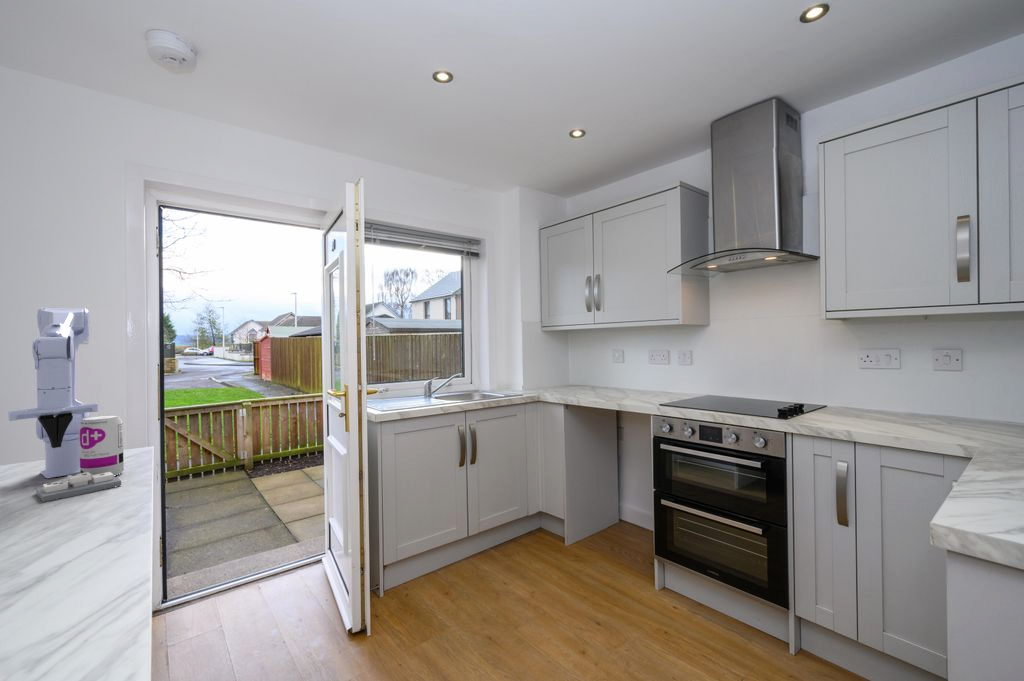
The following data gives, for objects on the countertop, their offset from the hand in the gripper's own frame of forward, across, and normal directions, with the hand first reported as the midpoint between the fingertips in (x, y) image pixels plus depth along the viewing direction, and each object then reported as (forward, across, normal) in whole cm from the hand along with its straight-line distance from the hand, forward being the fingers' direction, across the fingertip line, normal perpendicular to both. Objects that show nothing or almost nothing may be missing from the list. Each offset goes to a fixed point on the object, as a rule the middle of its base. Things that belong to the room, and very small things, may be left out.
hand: (56, 447), depth 106 cm
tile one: (+10, +7, -4) cm, 13 cm away
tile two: (+10, +3, -4) cm, 11 cm away
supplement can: (+10, +9, +5) cm, 14 cm away
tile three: (+10, -1, -5) cm, 11 cm away
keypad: (+10, +3, -4) cm, 11 cm away
